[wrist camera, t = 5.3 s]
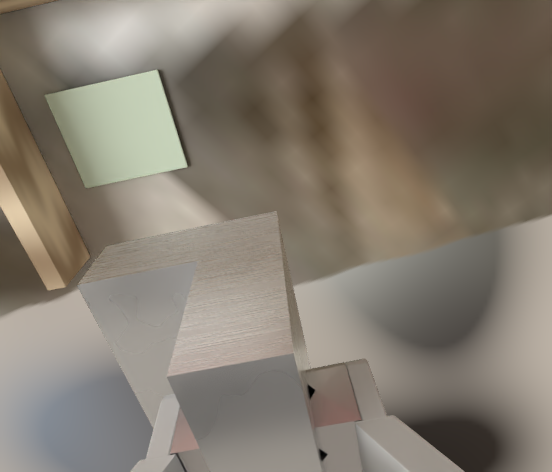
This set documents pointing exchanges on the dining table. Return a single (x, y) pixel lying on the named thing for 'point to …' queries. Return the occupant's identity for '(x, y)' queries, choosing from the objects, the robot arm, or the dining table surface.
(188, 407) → the bracket
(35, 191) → the corner walls
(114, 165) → the pad
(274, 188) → the dining table surface
